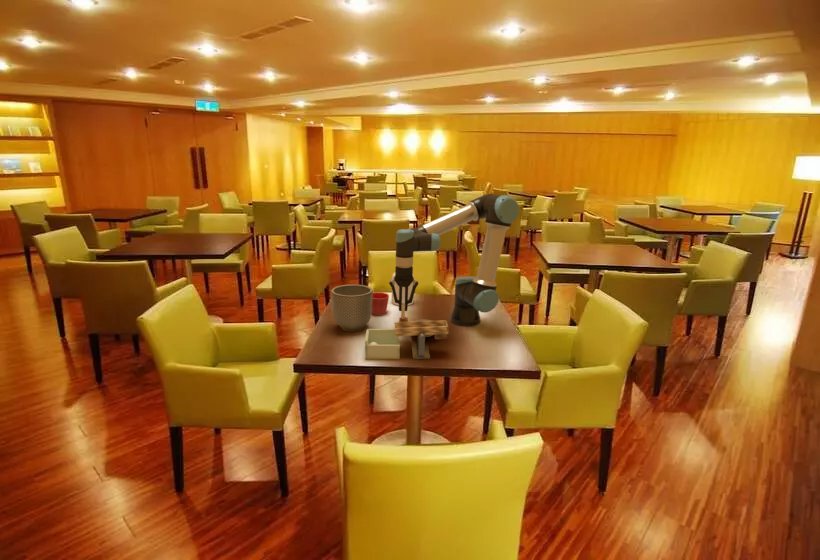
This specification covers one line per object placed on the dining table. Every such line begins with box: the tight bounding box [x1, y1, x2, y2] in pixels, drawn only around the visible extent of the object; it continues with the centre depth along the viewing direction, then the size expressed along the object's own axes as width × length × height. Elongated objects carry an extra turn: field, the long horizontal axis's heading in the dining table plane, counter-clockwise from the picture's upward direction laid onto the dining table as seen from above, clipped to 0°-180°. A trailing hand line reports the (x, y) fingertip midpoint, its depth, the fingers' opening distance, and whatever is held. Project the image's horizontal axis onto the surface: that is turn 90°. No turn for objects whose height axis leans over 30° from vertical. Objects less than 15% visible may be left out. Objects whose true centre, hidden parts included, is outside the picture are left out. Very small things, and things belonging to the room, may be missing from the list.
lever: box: [394, 316, 449, 340], centre depth 194 cm, size 22×18×6 cm
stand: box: [411, 332, 431, 360], centre depth 190 cm, size 7×12×11 cm, turn 2°
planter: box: [330, 284, 374, 333], centre depth 214 cm, size 20×20×19 cm
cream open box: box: [364, 328, 401, 360], centre depth 189 cm, size 14×13×8 cm
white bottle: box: [391, 272, 415, 307], centre depth 253 cm, size 12×12×20 cm
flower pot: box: [371, 292, 390, 316], centre depth 237 cm, size 11×11×10 cm
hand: (402, 317), depth 199 cm, fingers closed
